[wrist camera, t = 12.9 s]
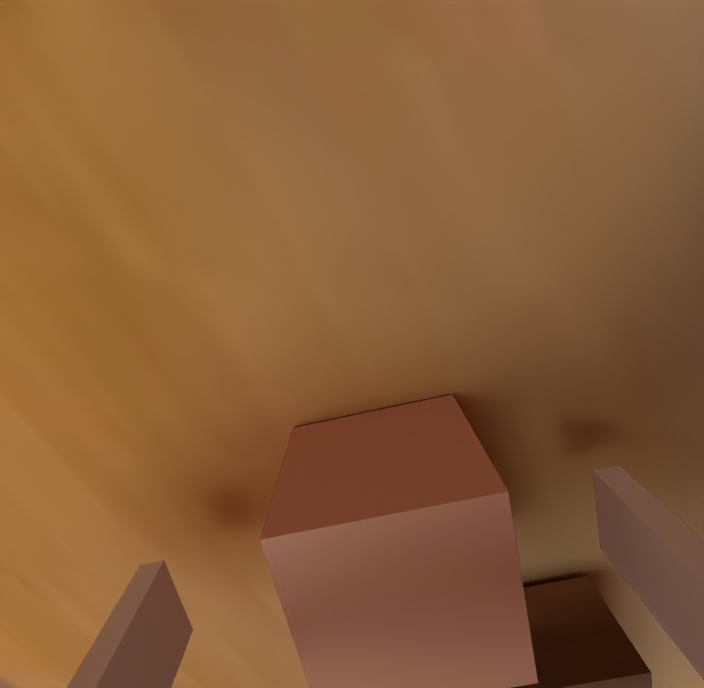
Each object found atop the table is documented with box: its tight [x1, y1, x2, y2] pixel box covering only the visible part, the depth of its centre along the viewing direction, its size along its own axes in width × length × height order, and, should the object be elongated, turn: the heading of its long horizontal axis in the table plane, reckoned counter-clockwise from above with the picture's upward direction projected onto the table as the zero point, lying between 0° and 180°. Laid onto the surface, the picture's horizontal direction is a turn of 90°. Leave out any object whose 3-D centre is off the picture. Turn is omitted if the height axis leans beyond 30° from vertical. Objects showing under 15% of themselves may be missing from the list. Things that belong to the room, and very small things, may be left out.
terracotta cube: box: [260, 394, 538, 688], centre depth 14 cm, size 6×6×6 cm
